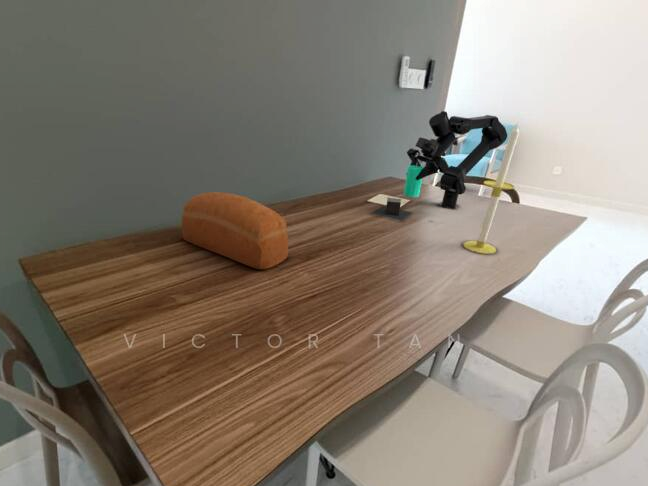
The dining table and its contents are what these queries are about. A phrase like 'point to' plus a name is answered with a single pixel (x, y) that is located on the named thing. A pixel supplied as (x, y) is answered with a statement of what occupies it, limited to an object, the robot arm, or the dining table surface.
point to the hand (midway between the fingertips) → (411, 177)
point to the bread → (236, 229)
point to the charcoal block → (393, 206)
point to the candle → (413, 181)
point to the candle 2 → (494, 198)
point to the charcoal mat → (400, 217)
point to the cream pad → (383, 199)
